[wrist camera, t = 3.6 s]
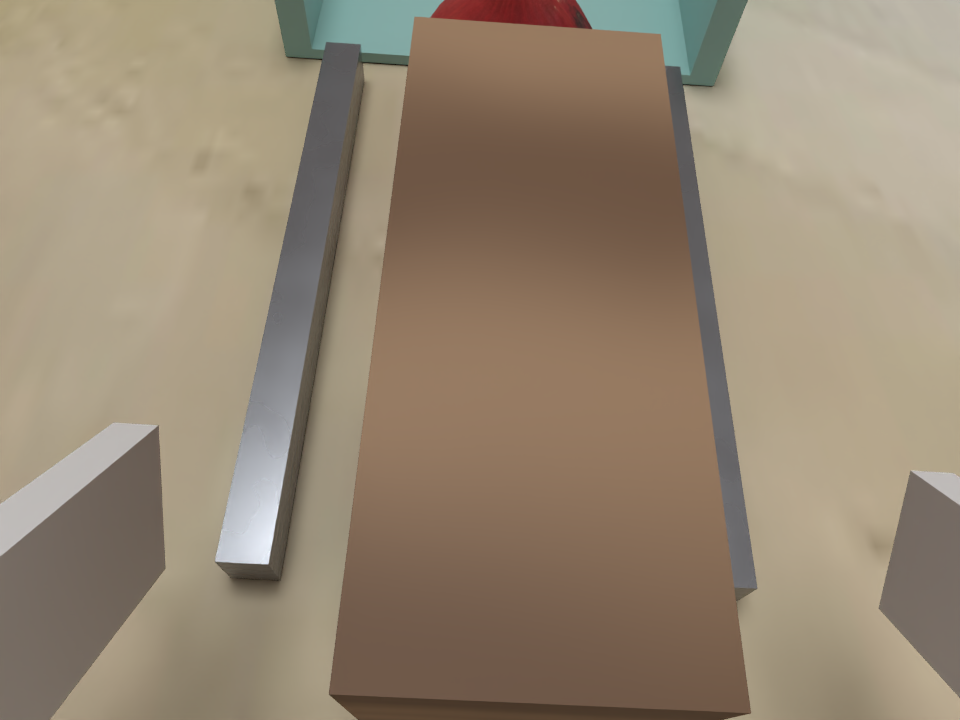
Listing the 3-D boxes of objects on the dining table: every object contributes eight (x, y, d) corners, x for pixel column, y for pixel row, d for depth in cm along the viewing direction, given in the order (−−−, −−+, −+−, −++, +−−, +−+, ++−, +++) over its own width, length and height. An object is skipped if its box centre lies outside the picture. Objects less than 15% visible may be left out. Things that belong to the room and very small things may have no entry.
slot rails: (734, 602, 18) (757, 588, 17) (230, 577, 18) (214, 562, 17) (668, 100, 27) (680, 66, 26) (331, 77, 27) (326, 41, 26)
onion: (600, 144, 26) (660, -88, 19) (560, 268, 23) (613, 49, 16) (443, 103, 27) (446, -137, 20) (385, 219, 24) (366, -12, 17)
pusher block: (568, 754, 17) (750, 713, 7) (389, 747, 16) (328, 694, 7) (560, 365, 22) (660, 33, 12) (423, 357, 21) (414, 16, 12)
